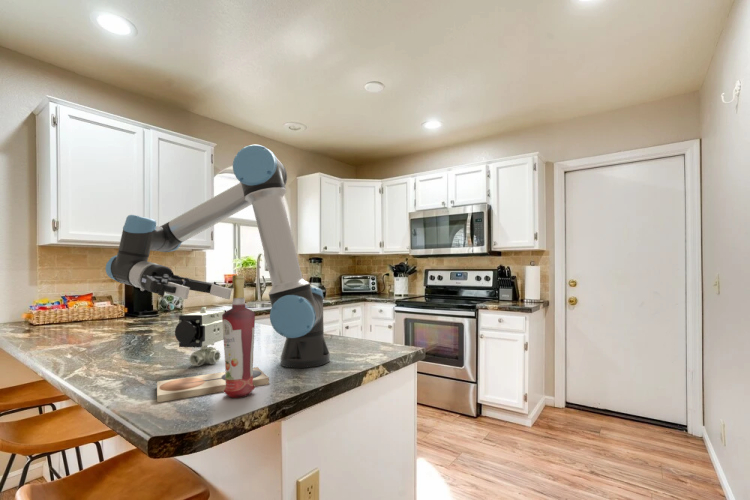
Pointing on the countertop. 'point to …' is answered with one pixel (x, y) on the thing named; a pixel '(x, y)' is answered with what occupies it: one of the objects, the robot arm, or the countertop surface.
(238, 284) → the liquor
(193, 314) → the ball valve
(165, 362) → the countertop surface
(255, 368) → the board
